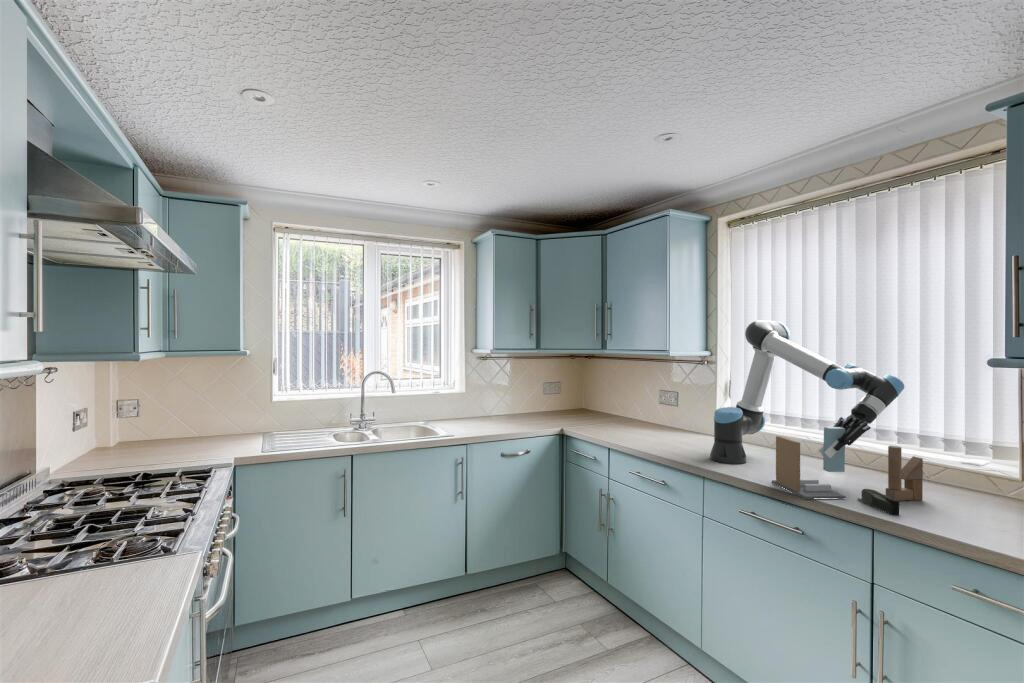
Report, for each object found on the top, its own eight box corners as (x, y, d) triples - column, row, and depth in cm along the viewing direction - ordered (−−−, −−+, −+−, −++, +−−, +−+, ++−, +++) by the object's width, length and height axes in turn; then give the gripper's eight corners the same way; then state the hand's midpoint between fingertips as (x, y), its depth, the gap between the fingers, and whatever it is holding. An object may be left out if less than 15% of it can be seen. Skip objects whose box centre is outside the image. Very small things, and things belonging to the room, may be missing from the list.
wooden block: (923, 500, 166) (923, 447, 166) (894, 501, 165) (894, 447, 165) (912, 497, 170) (912, 444, 170) (884, 498, 169) (884, 445, 169)
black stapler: (901, 500, 151) (864, 485, 166) (892, 500, 151) (855, 485, 166) (901, 516, 151) (863, 500, 166) (891, 516, 151) (855, 500, 166)
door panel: (823, 469, 185) (823, 427, 185) (838, 469, 185) (839, 427, 185) (828, 471, 182) (829, 428, 182) (844, 471, 182) (845, 428, 182)
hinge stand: (771, 483, 187) (771, 435, 187) (807, 482, 187) (807, 435, 188) (805, 499, 167) (805, 446, 167) (845, 499, 167) (845, 445, 168)
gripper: (892, 420, 176) (846, 467, 175) (858, 413, 192) (816, 456, 191) (877, 405, 176) (832, 452, 175) (845, 399, 192) (803, 442, 191)
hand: (823, 454), depth 183 cm, fingers closed on door panel, 3 cm apart
